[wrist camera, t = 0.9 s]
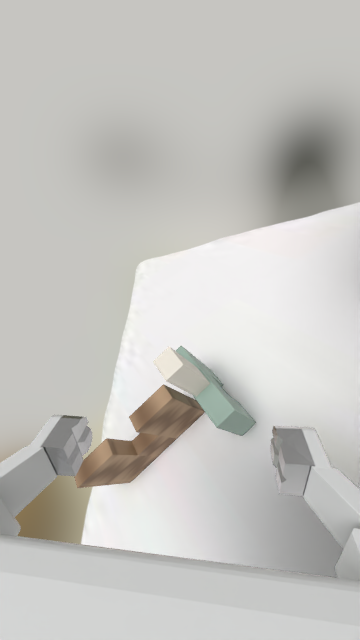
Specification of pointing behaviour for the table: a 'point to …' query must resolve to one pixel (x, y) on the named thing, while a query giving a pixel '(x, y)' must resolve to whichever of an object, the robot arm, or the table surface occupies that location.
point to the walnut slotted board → (140, 439)
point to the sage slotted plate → (203, 389)
